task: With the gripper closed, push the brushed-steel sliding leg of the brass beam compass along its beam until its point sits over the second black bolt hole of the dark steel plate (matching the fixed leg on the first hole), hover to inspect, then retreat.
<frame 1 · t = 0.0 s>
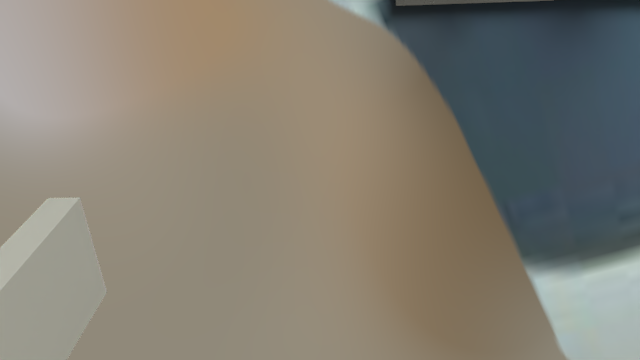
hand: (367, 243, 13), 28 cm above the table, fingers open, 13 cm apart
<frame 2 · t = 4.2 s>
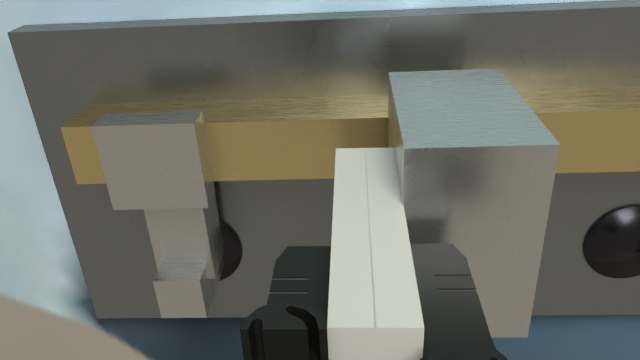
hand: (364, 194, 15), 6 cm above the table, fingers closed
beam: (453, 110, 19), resting on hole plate
sliding leg: (442, 226, 16), point 5 cm above the table, slide at 0.5 cm, touching gripper
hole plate: (435, 173, 21), on the table
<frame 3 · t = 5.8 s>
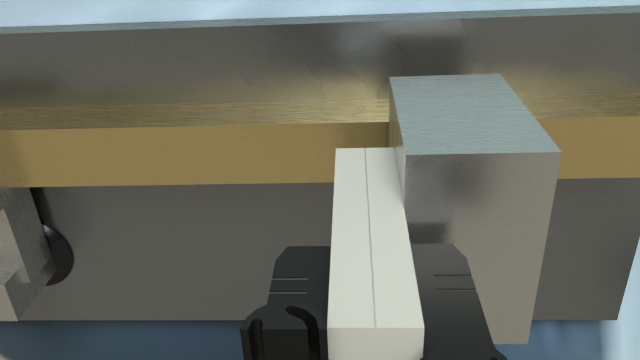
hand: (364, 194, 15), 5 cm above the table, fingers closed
beam: (264, 118, 20), resting on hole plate
sliding leg: (442, 231, 16), point 5 cm above the table, slide at 7.2 cm, touching gripper
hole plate: (257, 180, 21), on the table
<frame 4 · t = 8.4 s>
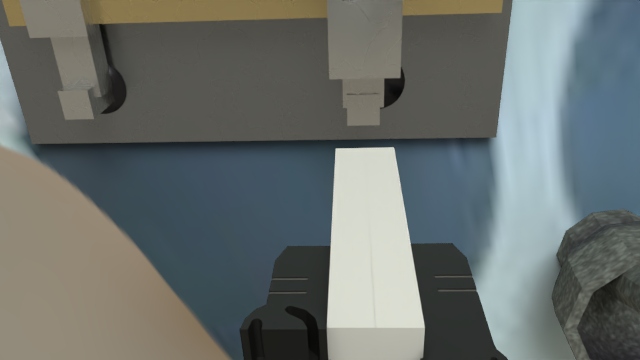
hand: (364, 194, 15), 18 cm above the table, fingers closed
mortar and pestle: (601, 239, 37), on the table
sliding leg: (363, 38, 26), point 5 cm above the table, slide at 7.2 cm
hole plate: (251, 36, 31), on the table
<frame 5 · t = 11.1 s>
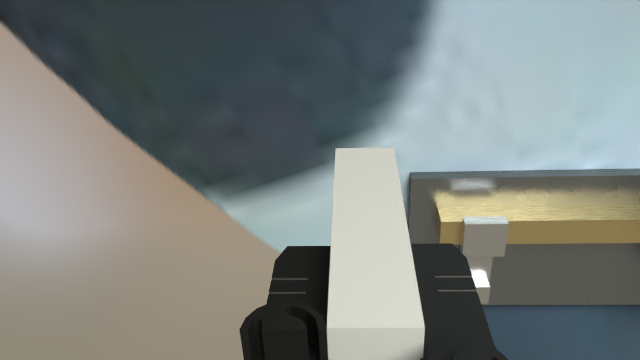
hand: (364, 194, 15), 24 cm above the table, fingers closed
beam: (599, 210, 42), resting on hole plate
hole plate: (587, 237, 44), on the table
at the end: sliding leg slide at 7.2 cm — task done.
